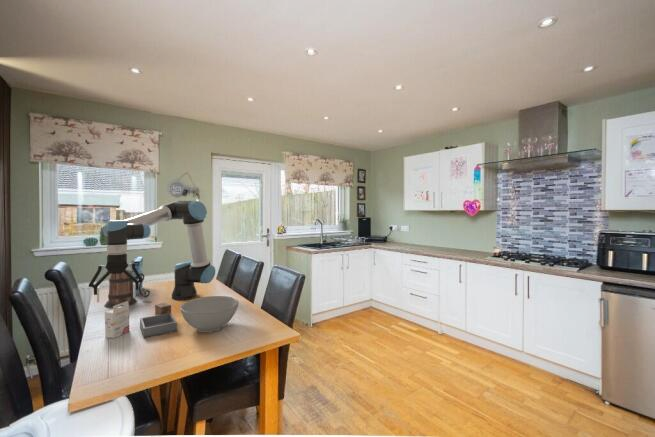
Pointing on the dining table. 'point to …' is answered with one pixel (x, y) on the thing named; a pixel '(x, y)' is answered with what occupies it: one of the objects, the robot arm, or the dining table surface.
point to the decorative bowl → (209, 312)
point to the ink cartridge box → (117, 320)
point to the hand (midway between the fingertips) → (116, 299)
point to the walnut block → (162, 308)
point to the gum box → (139, 268)
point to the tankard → (122, 290)
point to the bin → (158, 325)
